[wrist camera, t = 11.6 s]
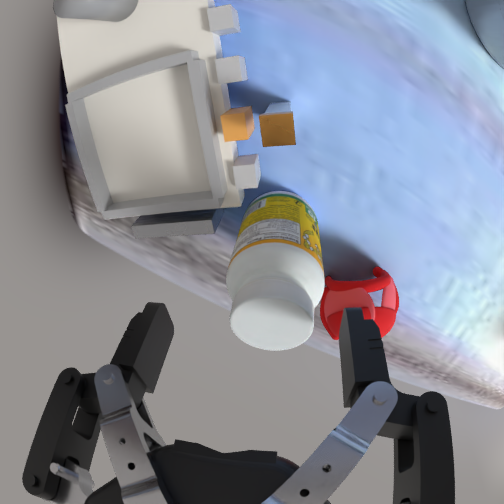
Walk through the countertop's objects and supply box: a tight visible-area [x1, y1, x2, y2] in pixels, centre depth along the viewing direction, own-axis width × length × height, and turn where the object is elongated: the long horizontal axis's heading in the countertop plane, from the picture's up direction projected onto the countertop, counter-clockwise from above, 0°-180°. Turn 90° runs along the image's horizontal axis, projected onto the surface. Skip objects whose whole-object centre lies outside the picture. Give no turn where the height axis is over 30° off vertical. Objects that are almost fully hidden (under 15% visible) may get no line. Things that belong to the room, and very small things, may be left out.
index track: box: [131, 102, 296, 238], centre depth 12 cm, size 24×12×6 cm, turn 7°
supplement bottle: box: [226, 191, 325, 350], centre depth 17 cm, size 5×5×10 cm
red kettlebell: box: [320, 267, 399, 340], centre depth 21 cm, size 8×6×6 cm
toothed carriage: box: [53, 0, 261, 220], centre depth 12 cm, size 16×11×6 cm
